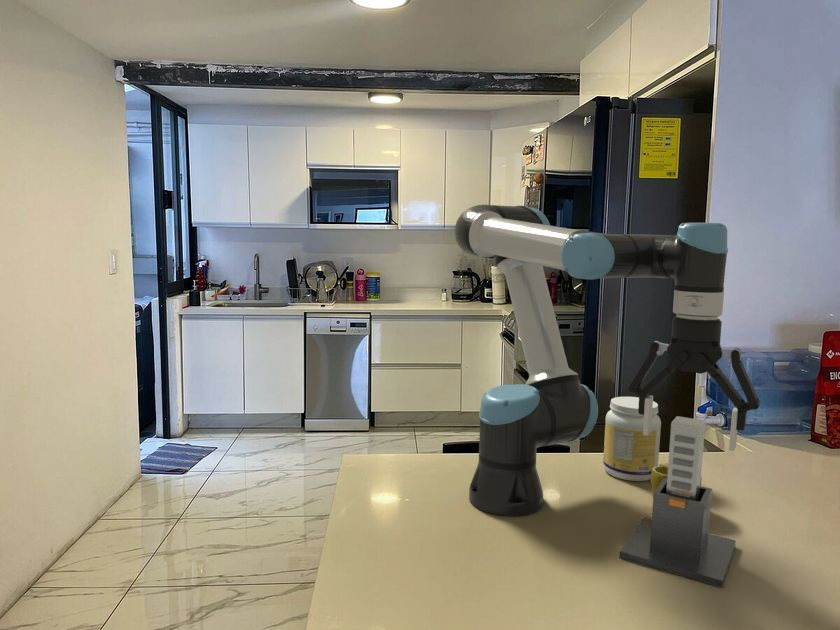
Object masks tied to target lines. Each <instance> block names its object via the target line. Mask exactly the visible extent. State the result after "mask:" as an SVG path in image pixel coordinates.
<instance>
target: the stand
mask: <svg viewBox="0 0 840 630" xmlns="http://www.w3.org/2000/svg"><path fill="white" fill-rule="evenodd" d="M666 489H667V479H665V478H664V479H663V480H662V482H661V483H660V485H659V486H658V488H657V489H656V490H655V492H654V495H653V494H652V509H651V510H652V511H651V512H652V513H651V518H649V517H646V516H642V518H641V519H640V520H639V522H638V524H637V525H636V527H635V528H634V530H633V531H632V533H631V534H630V536H629V537H628V539H627V540H626V542H625V543H624V544H623V546H622V547H621V549H620V551H619V559H623V560H626V561H629V562H632V563H635V564H638V565H642V566H646V567H648V568H652V569H656V570H660V571H663V572H666V573H670V574H673V575H676V576H681V577H683V578H687V579H690V580H693V581H697V582H700V583H704V584H706V585H710V586H713V587H716V588H717V587H718V588H720V589H723V587H724V584H725V581H726V578H727V575H728V571H729V567H730V564H731V562H732V558H733V554H734V552H735V548H736V540H735V539H732V538H728V537H724V536H720V535H716V534H712V533H709V531H710V529H709V528H710V522H711V521H710V519H711V518H710V517H711V508H712V507H711V505H712V493H713V488H710V487H706V486H702V485H701V486H700V495H699V502H698V501H694V500H690V499H685V498H681V497H677V496H672V495H668V494H666Z"/></svg>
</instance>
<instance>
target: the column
mask: <svg viewBox="0 0 840 630" xmlns="http://www.w3.org/2000/svg"><path fill="white" fill-rule="evenodd" d="M705 432H706V420H703V419H697V418H691V417H684V416H680V415H679V416H675V418H674V419H673V420H672V421H671V423H670V435H669V437H670V438H669V447H668V449H669V450H668V451H669V452H668V475H667V489H666V494H668V495H672V496H677V497H681V498H685V499H690V500H694V501H698V502H699V495H700V483H701V484H702V480H701V478H702V471H703V469H702V467H703V456H704V455H703V454H704V446H705V445H704V444H705V443H704V442H705Z"/></svg>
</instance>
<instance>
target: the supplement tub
mask: <svg viewBox="0 0 840 630" xmlns="http://www.w3.org/2000/svg"><path fill="white" fill-rule="evenodd" d="M638 407H639V396H638V397H637V396H616V397H613V398H611V400H610V405H609V408H610V410H608V411H607V413H606V415H605V427H604V445H603V461H602V465H603V469H604V471H605V472H606V473H607V474H608V475H611V476H612V477H614V478H617V479H621V480H624V481H629V482H630V481H631V482H647V481H651V473H652V469H653V468H654V467H657V466H659V460H660V459H659V458H660V457H659V455H660V444H661V443H660V441H661V429H662V428H661V427H662V420H661V418H660V416H659V415H658V413H659V404H658V403H657V402H656V401H654V400H653V408H652V424H651V432H650V433H649V434H648V435H647V436H646V435H643V424H644V415H640V414H639V412H638Z"/></svg>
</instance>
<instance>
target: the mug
mask: <svg viewBox="0 0 840 630" xmlns="http://www.w3.org/2000/svg"><path fill="white" fill-rule="evenodd" d="M667 475H668V463H667V462H665V463H660V464H658V466H657V467H654V468H653V469H652V473H651V480H650V482H651V483H650V484H651V493H652V496H653V495H654V492H655V490H656V489H657V488H658V486H659V485H660V483H661V482H662V480H663V479H664V478H665V479H667ZM701 481H702V477H701ZM700 486H702V482H701V483H700Z"/></svg>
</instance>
